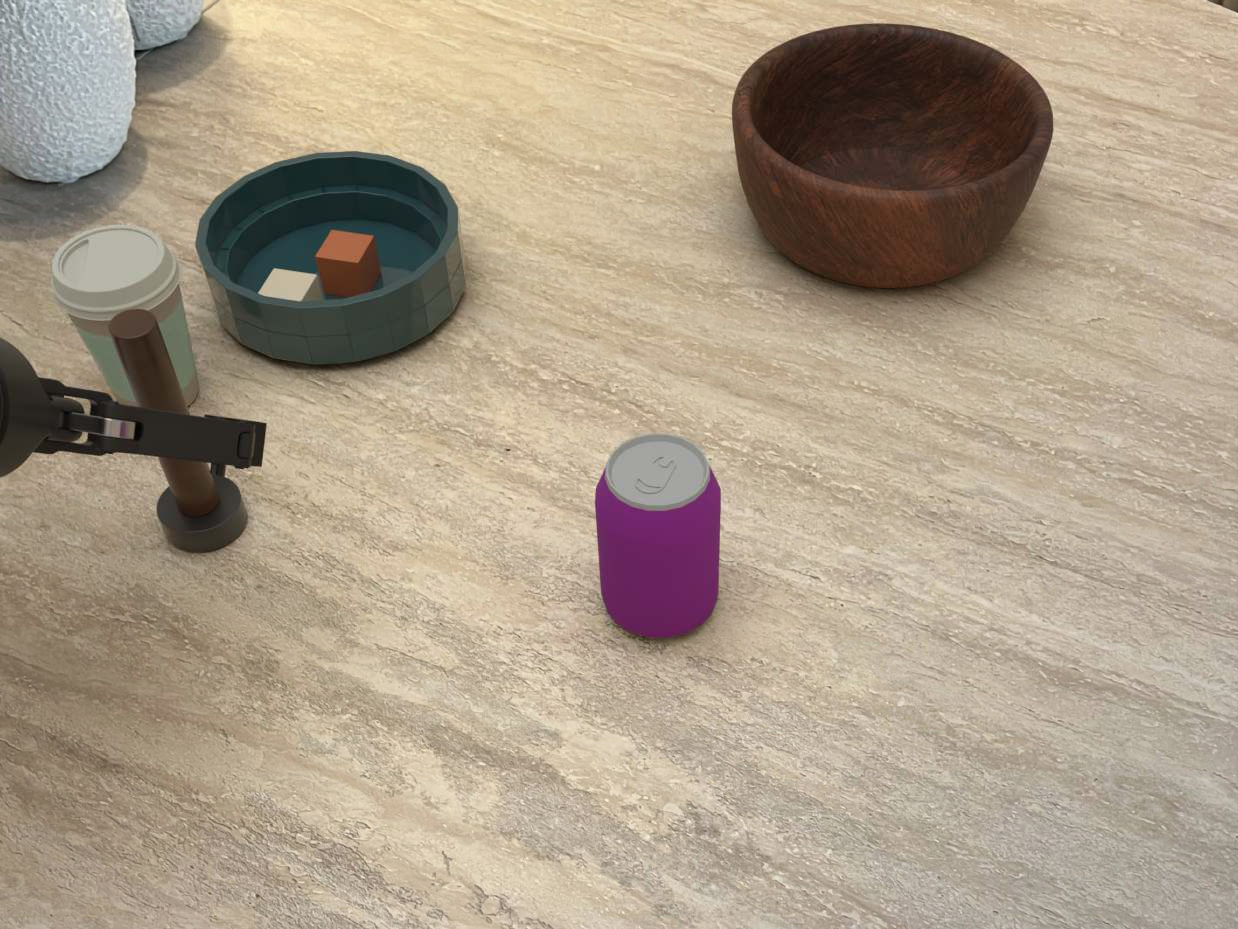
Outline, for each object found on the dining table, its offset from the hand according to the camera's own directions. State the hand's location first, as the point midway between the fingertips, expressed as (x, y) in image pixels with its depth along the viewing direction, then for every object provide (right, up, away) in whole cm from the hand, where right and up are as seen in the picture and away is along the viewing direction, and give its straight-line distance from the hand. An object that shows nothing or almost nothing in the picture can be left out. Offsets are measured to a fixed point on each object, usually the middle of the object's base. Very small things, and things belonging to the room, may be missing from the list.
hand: (157, 427), depth 91 cm
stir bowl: (+6, +15, +24) cm, 29 cm away
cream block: (+3, +12, +20) cm, 24 cm away
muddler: (0, -5, +9) cm, 10 cm away
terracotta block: (+7, +16, +23) cm, 29 cm away
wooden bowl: (+49, +23, +30) cm, 62 cm away
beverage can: (+31, -11, +5) cm, 34 cm away
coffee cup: (-6, +5, +17) cm, 19 cm away
